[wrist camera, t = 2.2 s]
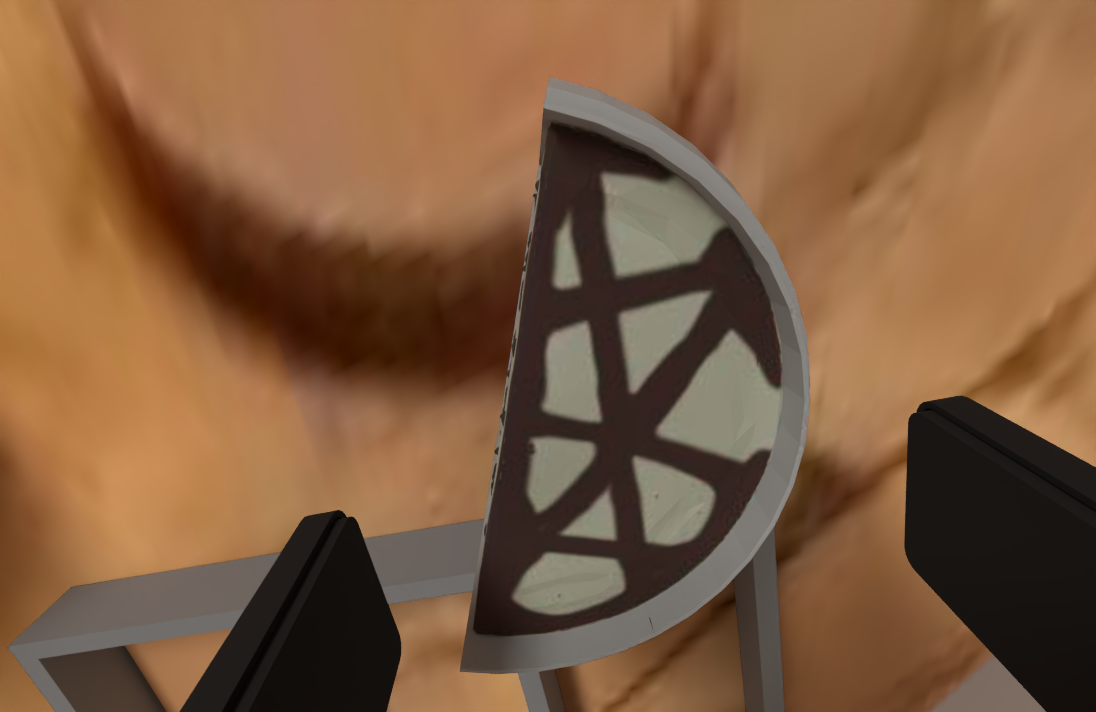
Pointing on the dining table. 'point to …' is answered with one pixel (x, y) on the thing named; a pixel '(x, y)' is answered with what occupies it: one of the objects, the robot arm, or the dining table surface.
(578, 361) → the food container
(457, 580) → the rack
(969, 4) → the dining table surface
